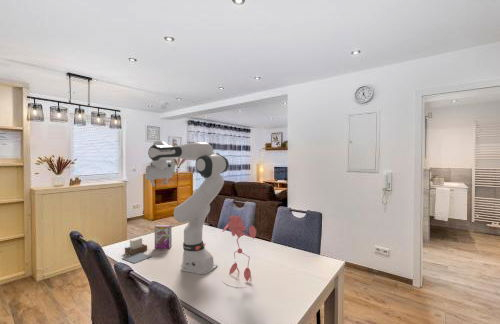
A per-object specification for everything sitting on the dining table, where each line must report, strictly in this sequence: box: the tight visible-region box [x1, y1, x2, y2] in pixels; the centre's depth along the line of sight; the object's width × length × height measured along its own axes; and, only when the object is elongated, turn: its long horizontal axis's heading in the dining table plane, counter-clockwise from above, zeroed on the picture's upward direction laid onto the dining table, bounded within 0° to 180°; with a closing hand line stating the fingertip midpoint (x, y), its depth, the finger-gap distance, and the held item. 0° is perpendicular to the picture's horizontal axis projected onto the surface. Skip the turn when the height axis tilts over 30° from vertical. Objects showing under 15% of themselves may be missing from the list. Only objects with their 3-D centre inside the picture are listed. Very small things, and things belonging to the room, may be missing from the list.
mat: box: [121, 252, 152, 264], centre depth 156 cm, size 14×12×1 cm
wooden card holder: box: [124, 243, 148, 256], centre depth 167 cm, size 8×12×4 cm
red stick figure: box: [222, 214, 257, 289], centre depth 127 cm, size 15×26×35 cm, turn 49°
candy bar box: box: [154, 224, 173, 250], centre depth 174 cm, size 11×5×16 cm, turn 84°
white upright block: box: [129, 237, 143, 250], centre depth 167 cm, size 4×7×9 cm, turn 148°
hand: (159, 185), depth 161 cm, fingers open, 8 cm apart
